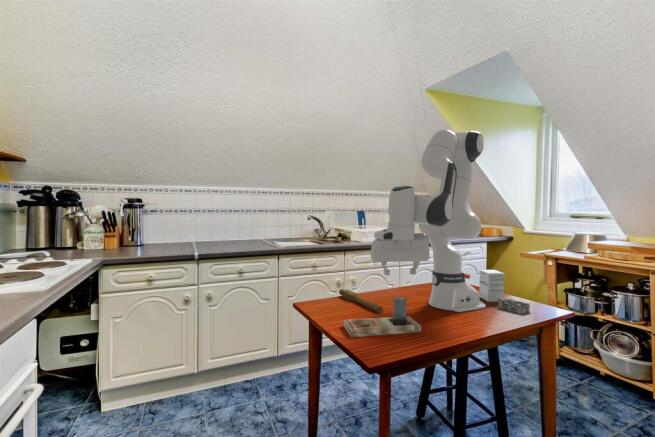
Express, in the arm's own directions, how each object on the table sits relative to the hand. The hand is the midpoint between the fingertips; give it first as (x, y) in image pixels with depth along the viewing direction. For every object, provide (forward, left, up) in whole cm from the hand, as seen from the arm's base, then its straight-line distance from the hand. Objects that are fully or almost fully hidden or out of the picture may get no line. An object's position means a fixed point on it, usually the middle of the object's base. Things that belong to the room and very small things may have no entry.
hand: (399, 274), depth 115 cm
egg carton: (-54, -10, -19) cm, 58 cm away
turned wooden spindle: (+5, -30, -19) cm, 36 cm away
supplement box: (-54, -24, -19) cm, 62 cm away
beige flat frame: (+6, 0, -19) cm, 20 cm away
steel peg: (0, 0, -19) cm, 19 cm away
